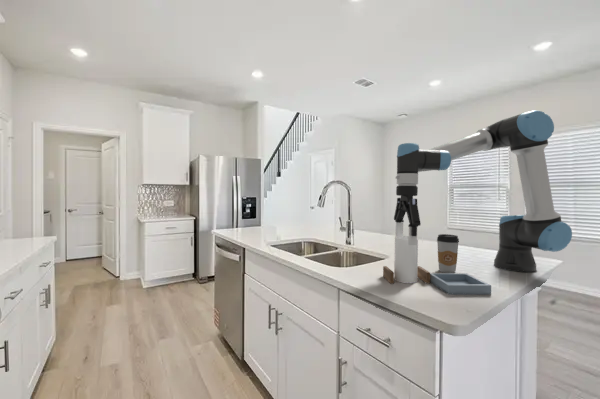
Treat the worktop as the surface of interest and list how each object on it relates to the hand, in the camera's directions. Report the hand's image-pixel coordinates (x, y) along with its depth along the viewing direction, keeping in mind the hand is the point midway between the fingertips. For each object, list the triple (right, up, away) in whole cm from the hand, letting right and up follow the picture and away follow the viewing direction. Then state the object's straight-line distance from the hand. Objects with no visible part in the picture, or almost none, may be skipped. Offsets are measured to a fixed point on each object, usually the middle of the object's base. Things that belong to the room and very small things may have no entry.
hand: (405, 241), depth 112 cm
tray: (+15, -15, -8) cm, 23 cm away
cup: (0, -15, +1) cm, 15 cm away
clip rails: (0, -14, +1) cm, 14 cm away
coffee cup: (+22, -14, +13) cm, 29 cm away
